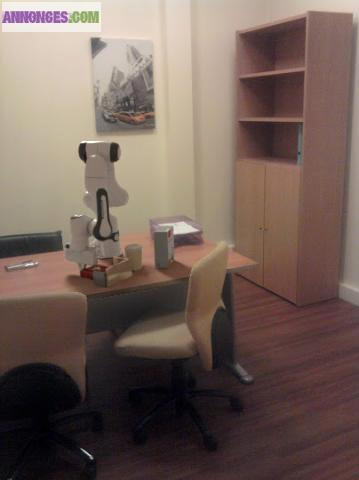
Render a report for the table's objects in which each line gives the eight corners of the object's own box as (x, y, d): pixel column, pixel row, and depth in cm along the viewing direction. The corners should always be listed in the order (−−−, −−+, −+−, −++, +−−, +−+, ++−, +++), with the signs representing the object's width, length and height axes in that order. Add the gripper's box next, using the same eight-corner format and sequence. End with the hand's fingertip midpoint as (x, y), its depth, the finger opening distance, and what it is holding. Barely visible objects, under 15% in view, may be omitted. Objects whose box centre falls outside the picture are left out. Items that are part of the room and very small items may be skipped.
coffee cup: (146, 267, 248) (145, 245, 245) (134, 271, 242) (132, 249, 238) (134, 263, 254) (133, 243, 251) (122, 268, 247) (120, 247, 244)
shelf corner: (93, 283, 227) (91, 265, 225) (116, 272, 241) (114, 256, 239) (109, 286, 222) (108, 269, 219) (132, 275, 236) (130, 258, 234)
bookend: (94, 284, 225) (92, 271, 223) (96, 283, 226) (95, 270, 224) (105, 287, 221) (103, 273, 219) (107, 286, 223) (105, 272, 221)
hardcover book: (109, 285, 225) (108, 277, 224) (80, 277, 238) (79, 269, 237) (126, 277, 234) (125, 270, 233) (97, 270, 247) (96, 263, 246)
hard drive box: (168, 268, 245) (167, 232, 239) (154, 268, 246) (152, 232, 241) (174, 259, 259) (173, 225, 254) (161, 259, 261) (159, 224, 255)
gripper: (99, 246, 234) (101, 272, 238) (70, 241, 245) (73, 266, 249) (91, 249, 229) (93, 275, 233) (61, 244, 240) (64, 269, 244)
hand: (82, 270), depth 241 cm, fingers closed
